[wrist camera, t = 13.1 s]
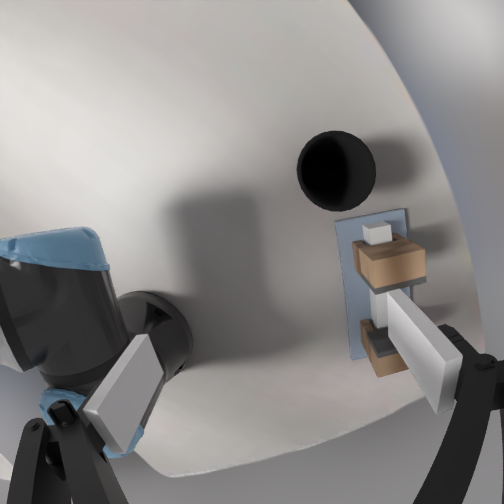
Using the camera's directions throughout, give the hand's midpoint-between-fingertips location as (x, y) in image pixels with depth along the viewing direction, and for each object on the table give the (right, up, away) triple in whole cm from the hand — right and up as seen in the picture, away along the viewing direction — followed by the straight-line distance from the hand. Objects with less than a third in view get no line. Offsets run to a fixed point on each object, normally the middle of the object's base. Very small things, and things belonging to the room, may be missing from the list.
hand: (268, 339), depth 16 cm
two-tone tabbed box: (+19, -7, +27) cm, 34 cm away
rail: (+17, -1, +27) cm, 32 cm away
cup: (+8, +15, +23) cm, 29 cm away
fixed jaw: (+16, +5, +25) cm, 30 cm away
